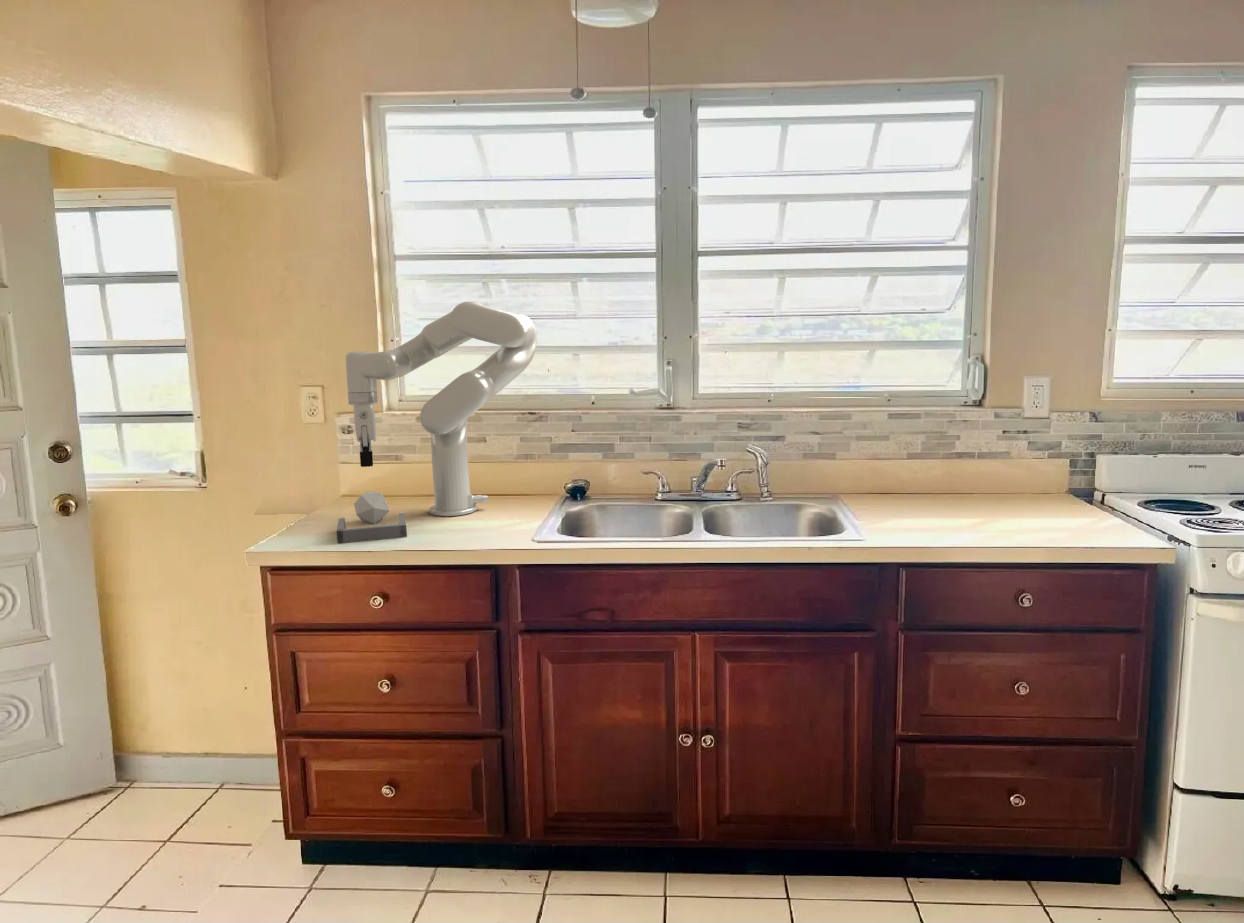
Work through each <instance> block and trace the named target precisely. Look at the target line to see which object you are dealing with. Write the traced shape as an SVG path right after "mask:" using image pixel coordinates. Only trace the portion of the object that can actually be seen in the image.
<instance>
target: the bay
mask: <svg viewBox="0 0 1244 923" xmlns="http://www.w3.org/2000/svg"><path fill="white" fill-rule="evenodd" d="M346 525H347V524H346V518H345V517H342V518H338V519H337V527H336V531H335V532H336V539H337V540H336V542H337V544H346V543H358V542H359V543H360V542H368V541H379V540H388V539H389V540H390V539H401V538H407V537H408V533H407V532H408V531H407V530H408V529H407V521H406V514H405V512H399V513H398V524H397V523H395V524H383V525H376V526H375V525H374V526H366V527H365V526H363V527H351V528H346Z"/></svg>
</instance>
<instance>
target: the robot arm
mask: <svg viewBox="0 0 1244 923" xmlns="http://www.w3.org/2000/svg"><path fill="white" fill-rule="evenodd" d="M471 339H472V340H473V339H476V340H478V341H482V342H484V343H485V342H486V343H490V344H494V345H498V346H501V347H500V348H499V349H497V350H496V351H495V352H493V353H492V354H491V355H490V356H489V357H488V358H487V359H485V360H484V361H483V362H482V363H480V364H479V365H478V366H477V367H475V368H474V369H472V370H470V371H467V372H464V373H462V374H460V375H459V376H457V377H456V378H454V380H452V381H451V382H450V383H449V384H447V385H446V386H445V387H443V388H442V389H441V390H440V391H439V392H438V393H435V395H434V396H432V397H431V398H430V399H429V400H428V401H426V402H425V403H424V405H423V406H422V407H421V410H420V413H419V421H420V424H421V426H422V427H423V429H424V430H425V431H426V432H427V433H429V434H430V448H431V449H430V450H431V464H432V468H431V470H432V480H433V483H432V484H433V498H434V505H431V506H430V507H429V513H430V514H431V515H433V516H438V517H455V516H463V515H468V514H471V513H474V512H476V510H477V508H478V506H477V504H479V503H482V504H483V503H488V502H489V499H488V498H489V496H488V494H487V495H483V494H478V495H477V494H476V495H475V494H473V493H472V492H471V488H470V486H471V485H470V471H469V470H470V469H469V456H468V454H469V451H468V418H469V417H471V416H472V415H473V414H474V413H476V412H477V411H479V409H481V408H482V407H483V406H486V404H488V403H490V401H491V400H492V399H493V398H494V397H495V396H497V394H499V392H501V391H502V390H503V389H504V388H506V387H507V386H508V385H509V384H510V383H511V382H512V381H513V380H515V379H516V378H517V377H518V376H520V375H521V374H522V373H523V372H524V371H525V370H526V369H527V367H528V366H529V365H530V363H531V362H532V361H533V359H534V356H535V354H536V351H537V345H538V334H537V330H536V326H535V324H534V322H533V321H532V319H531V318H530V317H529V316H527V315H526V314H523V313H512V312H508V311H504V310H499V309H496V308H490V307H488V306H485V305H484V304H482V303H481V302H478V301H463V302H461V303H458V304H457V305H455V307H454V308H453V309H452V310H451V311H450V312H448V313H446V314H445V315H443V316H441V317H440V318H438V319H435V320H434V321H432V322H430V323H428V324H427V325H426V326H424V327H423V328H422V330H421V332H419V334H417V335H416V336H415V337H413V338H412V339H410V340H408V341H407V342H405V343H403V344H401V345H400V346H397V347H396V348H394V349H390V350H385V351H379V352H378V351H377V352H371V351H366V350H365V351H364V350H363V351H359V350H357V351H350V352H347V354H346V355H345V369H346V370H345V371H346V386H347V402H348V405H349V406H350V405H351V406H352V407H353V421H354V428H355V430H354V431H355V436H356V441H357V442H359V447H360V448H359V449H360V451H359V462H360V463H359V464H360V465H359V466H360V467H362V468H367V467H368V468H369V467H373V466H374V459H373V450H372V441H373V442H376V441H377V427H376V426H377V425H376V413H375V412H376V411H375V405H378V404H379V402H378V401H379V400H378V382H377V381H378V380H379V381H380V380H382V381H391V380H395V379H398V378H402V377H404V376H406V375H408V374H410V373H411V372H413V371H415V370H417V369H419V368H420V367H423V366H424V365H426V364H427V363H429V362H431V361H433V360H434V359H437V358H440V357H442V356H443V355H445V354H446V353H448V352H450V351H452V350H453V349H455V348H457V347H459V346H460V345H462V344H464V343H466V342H468V341H470V340H471Z"/></svg>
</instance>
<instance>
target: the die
mask: <svg viewBox="0 0 1244 923" xmlns="http://www.w3.org/2000/svg"><path fill="white" fill-rule="evenodd" d="M353 505H354V506H353V507H354V509H355V513H356V514H355V515H356V516H357V517H358V518H359V520H360V521H361V522H363V523H368V524H372V525H375V524H377V523H378V522H380V521H382V520H383V518H384V517H385V516H386V515H387V514H388V513H389V512H390V508H389V505H388V502H387V499H386V498H385V496H384V495H383V493H382V492H378V491H372V490H368V491H366V492H363V493H362V494H361V495H360V496H359V497H358V498H357V499H356V501H355V502H354V503H353Z"/></svg>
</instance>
